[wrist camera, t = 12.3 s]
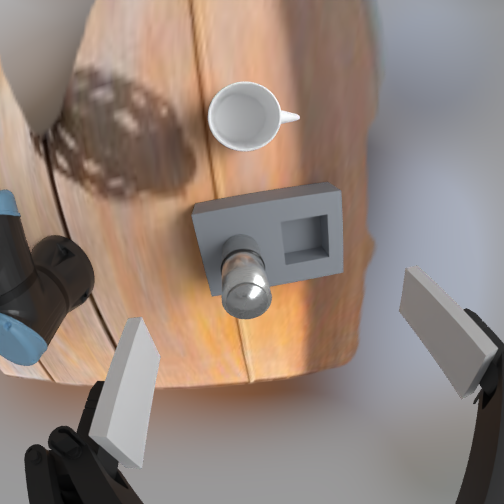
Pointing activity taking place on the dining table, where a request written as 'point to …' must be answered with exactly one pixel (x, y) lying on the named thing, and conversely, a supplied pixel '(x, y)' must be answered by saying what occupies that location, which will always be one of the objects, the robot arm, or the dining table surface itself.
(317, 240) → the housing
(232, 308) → the silver can
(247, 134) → the mug
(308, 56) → the dining table surface
